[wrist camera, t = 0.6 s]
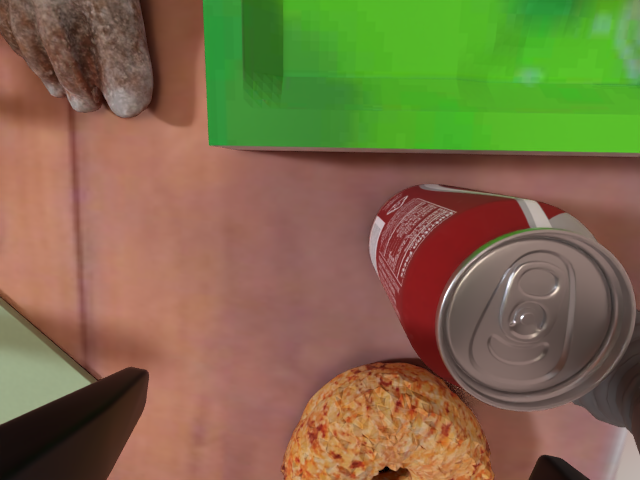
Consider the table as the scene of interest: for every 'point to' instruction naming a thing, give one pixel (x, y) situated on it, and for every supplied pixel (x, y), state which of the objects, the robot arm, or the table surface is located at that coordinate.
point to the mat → (32, 367)
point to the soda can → (503, 294)
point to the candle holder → (619, 391)
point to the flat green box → (424, 76)
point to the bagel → (387, 430)
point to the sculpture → (84, 50)
